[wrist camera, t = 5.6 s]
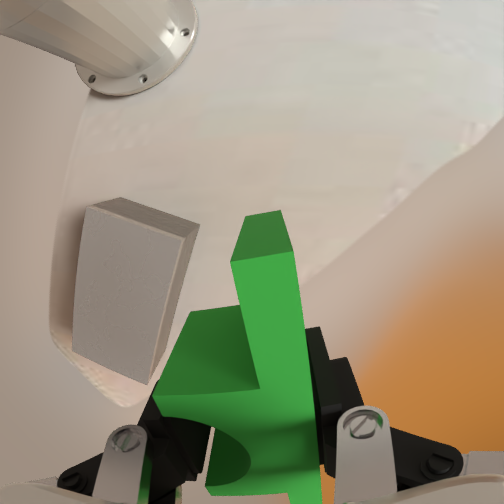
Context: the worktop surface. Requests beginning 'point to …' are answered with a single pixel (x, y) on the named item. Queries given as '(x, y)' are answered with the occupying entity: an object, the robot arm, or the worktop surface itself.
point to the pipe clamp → (251, 375)
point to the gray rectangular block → (129, 284)
